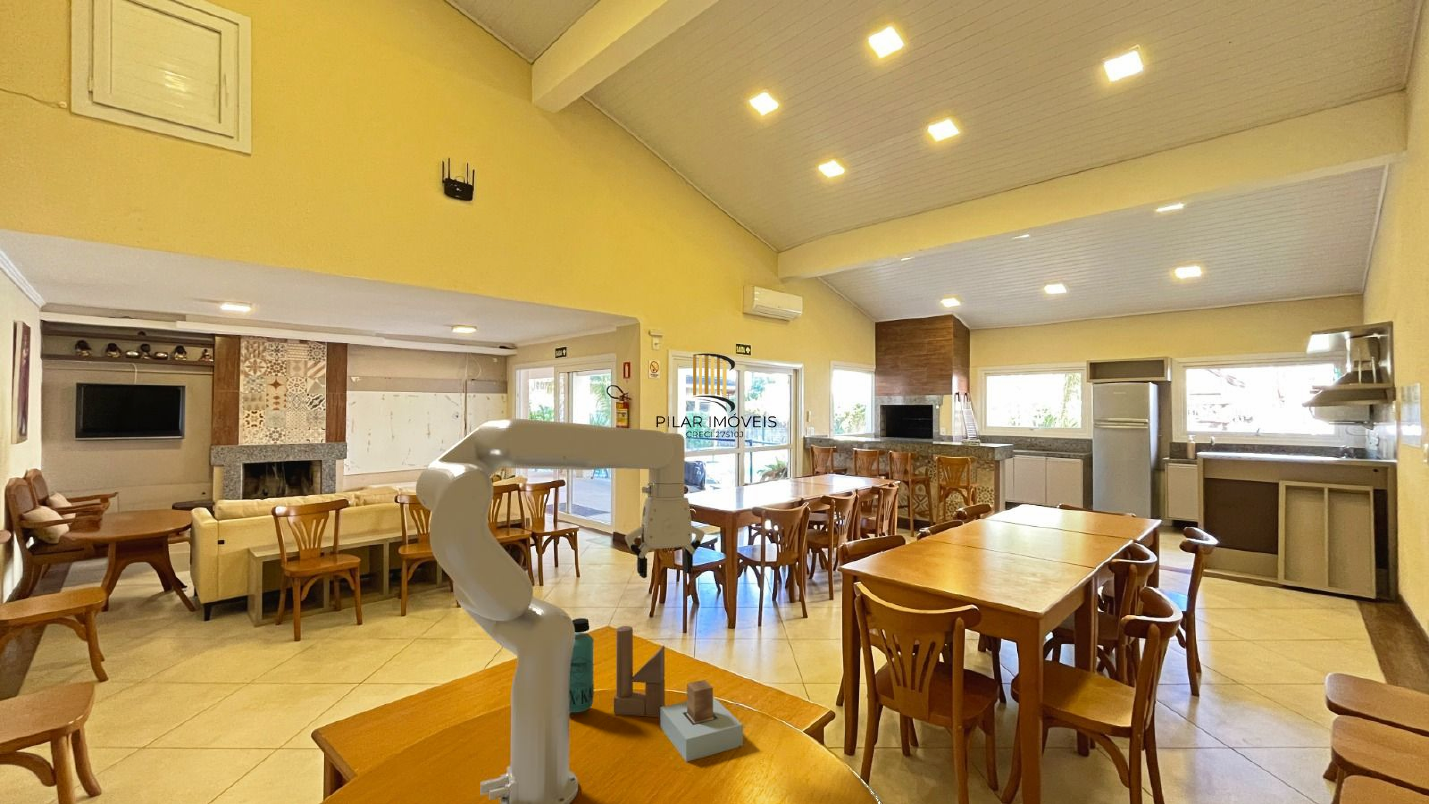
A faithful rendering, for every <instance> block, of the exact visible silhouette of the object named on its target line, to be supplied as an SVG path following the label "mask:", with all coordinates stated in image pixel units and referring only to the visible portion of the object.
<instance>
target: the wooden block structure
mask: <svg viewBox="0 0 1429 804" xmlns="http://www.w3.org/2000/svg"><path fill="white" fill-rule="evenodd" d="M633 634H634V629H633V627H632V626H630V625H629V626H628V625H623V626H619V627H617V629H616V676H615V677H616V684H615V685H616V689H615V690H616V693H615V696H614V697H613V714H614V715H623V716H636V717H648V718H649V717H650V718H659V719H660V707H664V706H666V702H665V701H666V699H665V697H666V691H665V689H666V688H665V687H666V686H665V685H666V682H665V673H666V672H665V671H666V669H665V667H666V665H665V659H666V658H665V652H666V651H665V644H663V645H662V646H661V647H660V648H659V649H658V650H657V651H656V652H655V653H654V654H653V655H652V656H651V657H650V658H649V659H648V660H647V661H646V663H644V664H643V665H642V667H640V668H639V669H638V671H636V673H634V669H633V668H634V644H633V643H634V642H633V640H634V635H633ZM634 683H644V685H645V687H644V688H645V694H644V693H643V692H641V691H640V692H638V691H634V687H633V686H634Z"/></svg>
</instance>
